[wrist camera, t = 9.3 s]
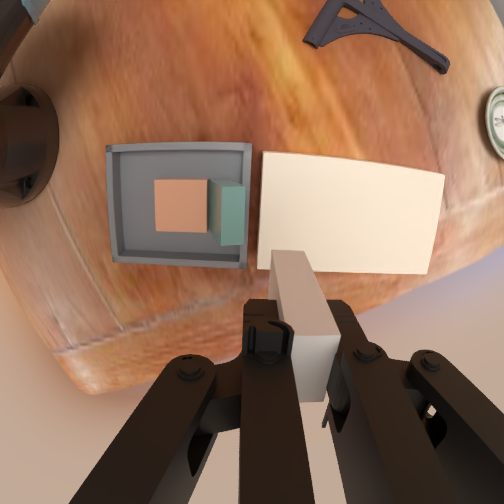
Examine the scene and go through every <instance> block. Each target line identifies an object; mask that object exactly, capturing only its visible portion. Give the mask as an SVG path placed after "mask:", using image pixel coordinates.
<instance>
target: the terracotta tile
mask: <svg viewBox="0 0 504 504" xmlns="http://www.w3.org/2000/svg"><path fill="white" fill-rule="evenodd" d="M209 179H210V177H159V178H157V179H155V180H154V190H155V221H156V231H169V232H200V233H207V231H208V216H209Z"/></svg>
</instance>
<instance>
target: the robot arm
mask: <svg viewBox="0 0 504 504" xmlns="http://www.w3.org/2000/svg"><path fill="white" fill-rule="evenodd" d="M49 1H50V0H0V78H1V77H2V75H3V73H4V71H5V69H6V67H7V66H8V64H9V62H10V60H11V59H12V57H13V55H14V54H15V52H16V50H17V49H18V47H19V45H20V44H21V42H22V41H23V39H24V38H25V36H26V35H27V33H28V32H29V30H30V29H31V27H32V26H33V24H34V25H36V24H37V22H38V21H39V16H40V14H41V13H42V11H43V10H44V8H45V7H46V6H47V4H48V3H49ZM58 144H59V129H58V121H57V116H56V113H55V110H54V107H53V105H52V103H51V101H50V99H49V98H48V96H47V95H46V94H45V93H44V92H43V91H42V90H40V89H39V88H37V87H35V86H32V85H26V84H10V85H6V86H3V87H1V88H0V207H1V208H10V207H15V206H18V205H21V204H23V203H26V202H28V201H30V200H32V199H33V198H34V197H36V196H37V195H38V194H39V193H40V192H41V191H42V189H43V188H44V187H45V185H46V184H47V182H48V180H49V178H50V176H51V174H52V171H53V168H54V165H55V162H56V158H57V152H58ZM326 391H327V393H328V396H329V403H328V406H327V409H326V412H325V416H324V419H323V422H322V428H325V427H326V424H327V421H329V425H330V430H331V434H332V438H333V443H334V447H335V451H336V456H337V460H338V465H339V470H340V474H341V479H342V483H343V488H344V493H345V498H346V502H347V504H504V414H503V413H502V412H501V411H500V410H499V409H498V408H497V407H496V406H495V405H494V404H493V403H492V402H491V401H490V400H489V399H488V398H487V397H486V396H485V395H484V394H483V393H482V392H481V391H480V390H479V389H478V388H477V387H475V385H474V384H473V383H472V382H471V381H469V380H468V379H467V378H466V377H465V376H464V375H463V374H462V373H461V372H460V371H459V370H458V369H457V368H456V367H455V366H454V365H452V363H450V362H449V361H448V360H447V359H446V358H445V357H444V356H442V355H441V354H439V353H437V352H435V351H431V350H419V351H417V352H415V353H414V354H413V356H412V357H411V360H410V362H409V361H402V360H395V359H390V358H388V356H387V354H386V352H385V351H384V350H383V349H382V348H381V347H380V346H378V345H376V344H375V343H372V342H369V341H368V340H367V338H366V336H365V334H364V332H363V330H362V328H361V327H360V325H359V322H357V319H356V317H355V316H354V313H353V311H352V309H351V307H350V306H349V305H347V304H346V303H345V302H343V301H342V300H326V299H325V297H324V294H323V292H322V290H321V288H320V285H319V283H318V281H317V278H316V276H315V274H314V272H313V269H312V267H311V265H310V263H309V261H308V258H307V256H306V254H305V252H304V251H297V250H273V249H272V250H271V264H270V277H269V290H268V299H249V300H248V301H247V302H246V304H245V305H244V311H243V337H242V351H241V353H240V354H239V356H238V357H236V358H235V359H234V360H231V361H230V362H226V363H222V364H217V365H214V363H213V362H212V361H210V360H209V359H208V358H206V357H203V356H200V355H193V354H188V355H181V356H179V357H176V358H174V359H172V360H171V361H170V362H169V363H168V364H167V365H166V367H165V368H164V369H163V371H162V372H161V374H160V375H159V376H158V378H157V379H156V381H155V382H154V383H153V385H152V386H151V388H150V389H149V390H148V392H147V393H146V395H145V396H144V397H143V399H142V400H141V402H140V403H139V405H138V406H137V407H136V409H135V410H134V412H133V413H132V415H131V416H130V417H129V419H128V420H127V421H126V423H125V424H124V426H123V427H122V429H121V430H120V431H119V433H118V434H117V436H116V437H115V439H114V440H113V441H112V443H111V444H110V445H109V447H108V448H107V450H106V451H105V453H104V454H103V455H102V457H101V459H100V460H99V461H98V463H97V464H96V465H95V467H94V468H93V470H92V471H91V472H90V474H89V475H88V477H87V478H86V479H85V481H84V482H83V484H82V485H81V487H80V488H79V490H78V491H77V492H76V494H75V495H74V497H73V498H72V499H71V501H70V502H69V504H188V502H189V500H190V497H191V495H192V493H193V491H194V488H195V486H196V483H197V482H198V479H199V477H200V475H201V473H202V470H203V468H204V466H205V463H206V461H207V458H208V456H209V454H210V452H211V449H212V447H213V445H214V442H215V440H216V438H217V435H218V433H219V432H223V431H228V430H232V429H237V428H240V447H239V499H238V504H315V500H314V493H313V486H312V480H311V473H310V467H309V461H308V454H307V448H306V442H305V436H304V430H303V424H302V417H301V412H300V406H299V402H322V401H324V397H325V394H326ZM431 405H432V406H433V407H434V408H435V409H436V413H435V414H434V416H432V415H430V414H429V413H428V412H427V411H428V410H429V408H430V406H431Z"/></svg>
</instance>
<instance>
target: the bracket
mask: <svg viewBox="0 0 504 504" xmlns="http://www.w3.org/2000/svg"><path fill="white" fill-rule="evenodd" d="M342 7H346V8H348V9H350V10H352V11H353V12H355V13H357V14H358V16H356V17H355V18H352V19H344V18H341V17H338V16H337V14H338V13H339V11H340V9H341V8H342ZM360 33H369V34H375V35H380V36H384V37H387V38H390V39H392V40H395V41H400V42H401V43H403V44H404V45H405V46H407V47H408V48H409V49H411V50H412V51H413V52H415V53H416V54H417V55H418V56H420V57H421V58H422V59H424V60H425V61H426V62H427V63H428V64H430V65H431V66H432V67H433V68H435V69H436V70H437V71H438V72H439V73H440V74H446V73H447V71H448V68H449V66H450V61H449V60H448V58H447V57H446V56H444V55H443V54H441V53H439V52H438V51H436V50H435V49H433V48H431V47H430V46H428V45H427V44H425V43H424V42H422V41H420V40H419V39H417V38H416V37H414V36H413V35H411V34H410V33H408V32H406V31H405V30H404V29H403V28H402V27H401V26H400V25H399V24H398V23H397V22H396V21H395V20H394V19H393V17H392V16H391V15H390V14H389V13H388V11H387V10H386V9H385V7H384V6H383V5H382V3H381V1H380V0H364V3H362V2H361V1H359V0H327V2H326V3H325V5H324V7H323V8H322V10H321V11H320V13H319V15H318V16H317V18H316V19H315V21H314V23H313V24H312V26H311V27H310V29H309V31H308V32H307V34H306V36H305V37H304V39H303V42H310V43H312V44H314V45H315V48H316V49H317V48H318V46H321V47H323V46H325V45H326V44H328V43H330V42H332V41H333V40H335V39H338V38H340V37H343V36H347V35H352V34H360ZM437 65H438V66H437ZM439 66H440V67H439Z"/></svg>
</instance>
